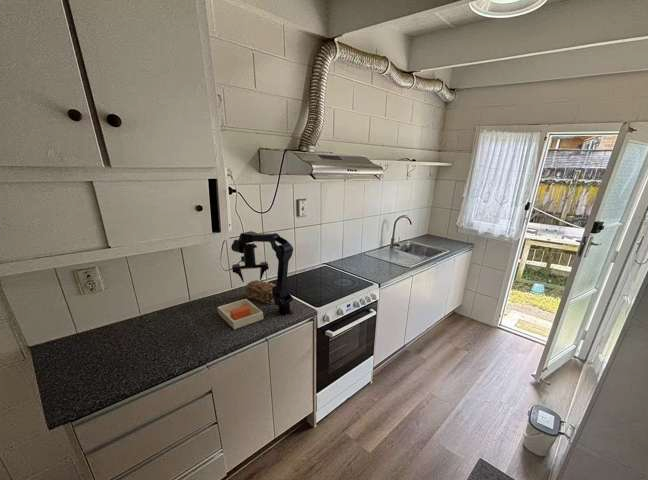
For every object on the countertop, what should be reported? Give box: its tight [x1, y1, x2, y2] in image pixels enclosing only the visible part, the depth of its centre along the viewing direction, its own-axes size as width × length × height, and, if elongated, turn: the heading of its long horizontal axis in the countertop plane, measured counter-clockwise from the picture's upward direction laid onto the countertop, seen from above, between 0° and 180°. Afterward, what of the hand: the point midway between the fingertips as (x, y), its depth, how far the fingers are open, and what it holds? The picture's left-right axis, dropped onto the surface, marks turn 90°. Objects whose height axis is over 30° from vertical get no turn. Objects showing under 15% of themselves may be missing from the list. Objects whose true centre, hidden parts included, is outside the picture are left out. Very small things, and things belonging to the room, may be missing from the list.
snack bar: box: [230, 306, 251, 320], centre depth 155 cm, size 4×9×4 cm, turn 134°
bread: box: [245, 280, 277, 305], centre depth 175 cm, size 19×11×10 cm, turn 68°
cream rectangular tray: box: [217, 298, 264, 330], centre depth 155 cm, size 20×16×5 cm
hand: (252, 281), depth 167 cm, fingers open, 9 cm apart
